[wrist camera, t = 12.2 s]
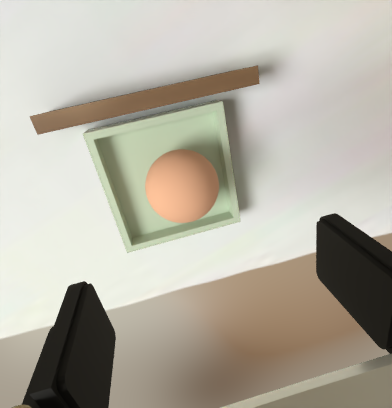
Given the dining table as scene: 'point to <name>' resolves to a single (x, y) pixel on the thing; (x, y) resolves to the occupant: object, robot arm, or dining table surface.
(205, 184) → the ball
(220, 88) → the board
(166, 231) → the tray
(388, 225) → the dining table surface
